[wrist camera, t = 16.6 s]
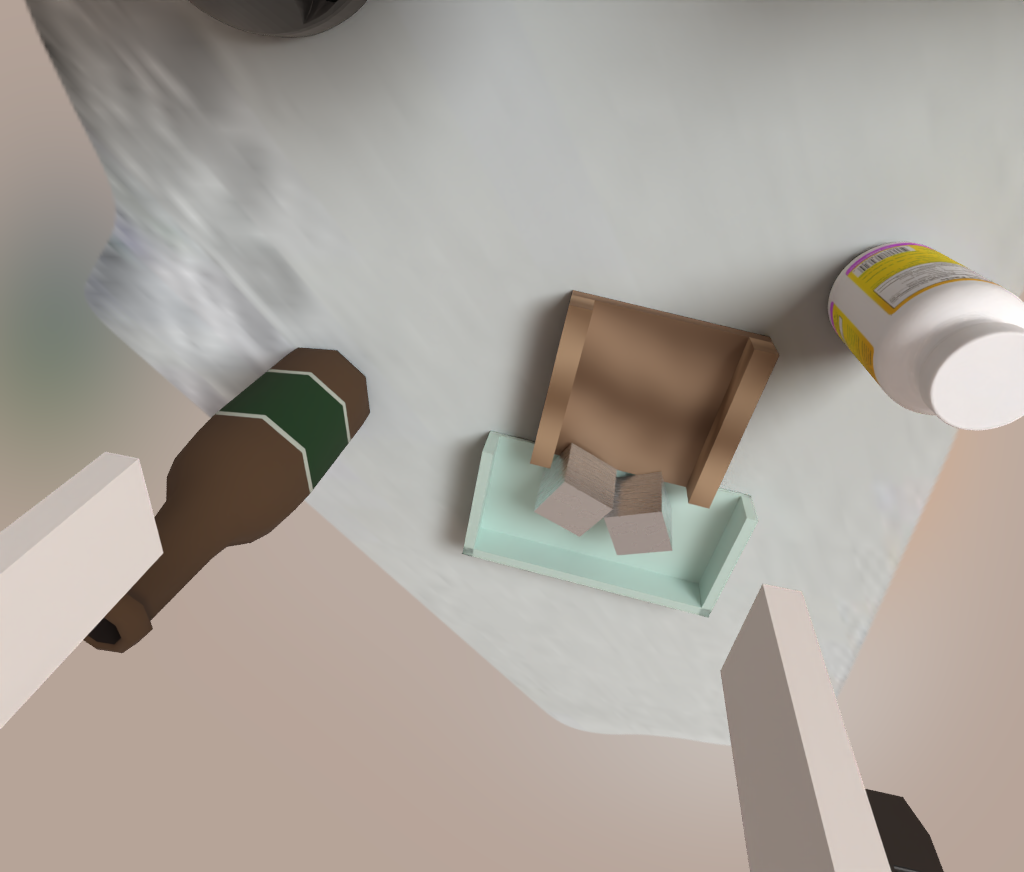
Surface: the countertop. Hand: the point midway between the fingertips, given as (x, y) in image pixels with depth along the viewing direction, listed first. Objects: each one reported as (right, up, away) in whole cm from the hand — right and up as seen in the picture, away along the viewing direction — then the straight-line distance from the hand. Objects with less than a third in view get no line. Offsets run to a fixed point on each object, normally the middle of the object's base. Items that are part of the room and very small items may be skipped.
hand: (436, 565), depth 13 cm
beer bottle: (-13, +6, +34) cm, 37 cm away
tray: (+9, -3, +36) cm, 37 cm away
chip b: (+11, -2, +33) cm, 35 cm away
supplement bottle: (+24, +11, +24) cm, 36 cm away
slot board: (+11, +6, +30) cm, 32 cm away
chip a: (+7, 0, +33) cm, 34 cm away
